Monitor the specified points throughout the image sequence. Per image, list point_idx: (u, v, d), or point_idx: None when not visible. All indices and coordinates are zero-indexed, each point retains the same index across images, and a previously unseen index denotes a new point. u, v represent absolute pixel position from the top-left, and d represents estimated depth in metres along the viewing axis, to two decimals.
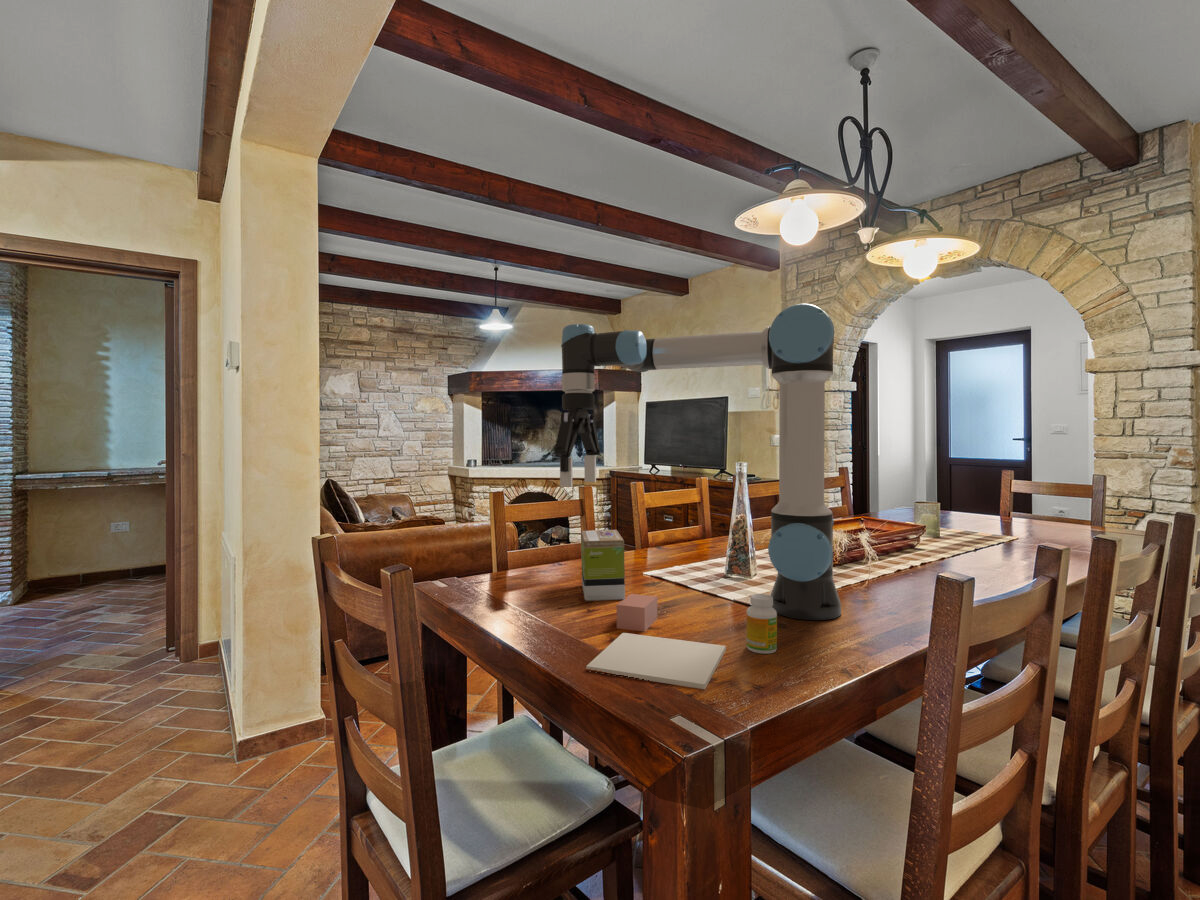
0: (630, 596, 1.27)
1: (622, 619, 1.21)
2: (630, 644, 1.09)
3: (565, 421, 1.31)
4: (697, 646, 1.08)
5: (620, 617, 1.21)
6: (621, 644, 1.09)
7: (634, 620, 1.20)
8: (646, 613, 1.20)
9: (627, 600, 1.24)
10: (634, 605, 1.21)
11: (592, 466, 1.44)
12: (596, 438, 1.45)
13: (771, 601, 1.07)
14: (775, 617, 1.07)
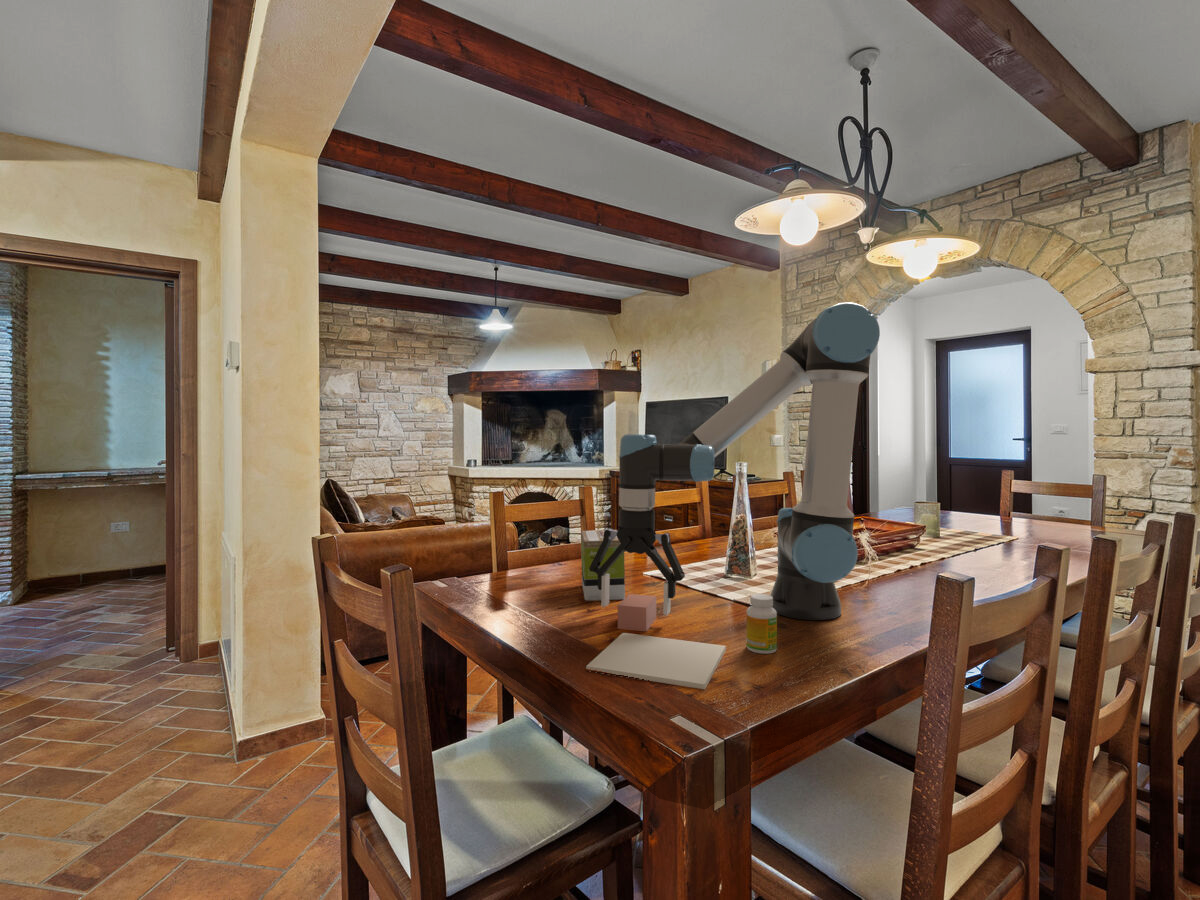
0: (629, 596, 1.27)
1: (624, 619, 1.20)
2: (630, 644, 1.09)
3: None
4: (697, 646, 1.08)
5: (621, 617, 1.21)
6: (621, 644, 1.09)
7: (635, 620, 1.20)
8: (647, 613, 1.20)
9: (627, 600, 1.24)
10: (636, 605, 1.21)
11: None
12: (672, 563, 1.20)
13: (771, 601, 1.07)
14: (775, 617, 1.07)
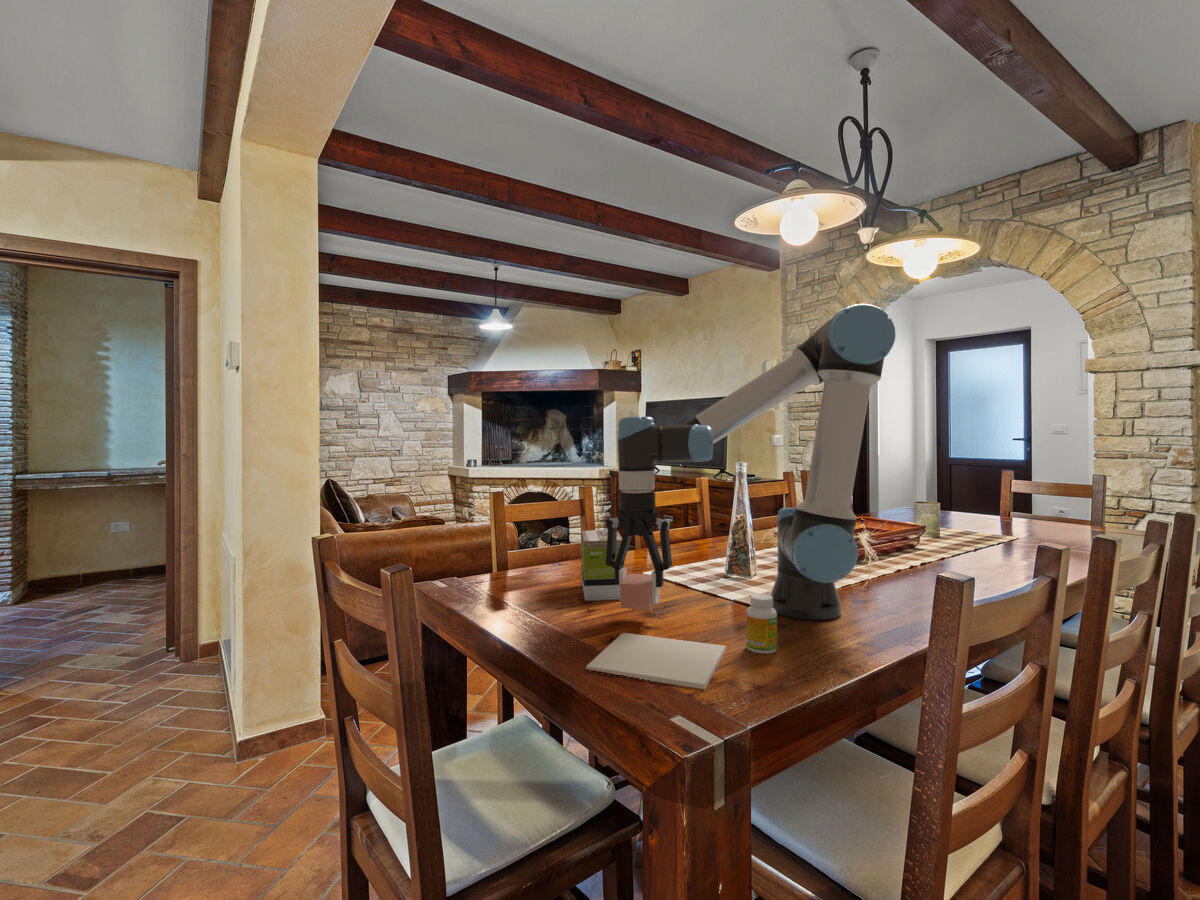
0: (630, 575, 1.27)
1: (627, 597, 1.20)
2: (630, 644, 1.09)
3: None
4: (697, 646, 1.08)
5: (624, 595, 1.20)
6: (621, 644, 1.09)
7: (639, 598, 1.20)
8: (650, 591, 1.20)
9: (628, 579, 1.24)
10: (638, 583, 1.21)
11: None
12: (664, 551, 1.21)
13: (771, 601, 1.07)
14: (775, 617, 1.07)
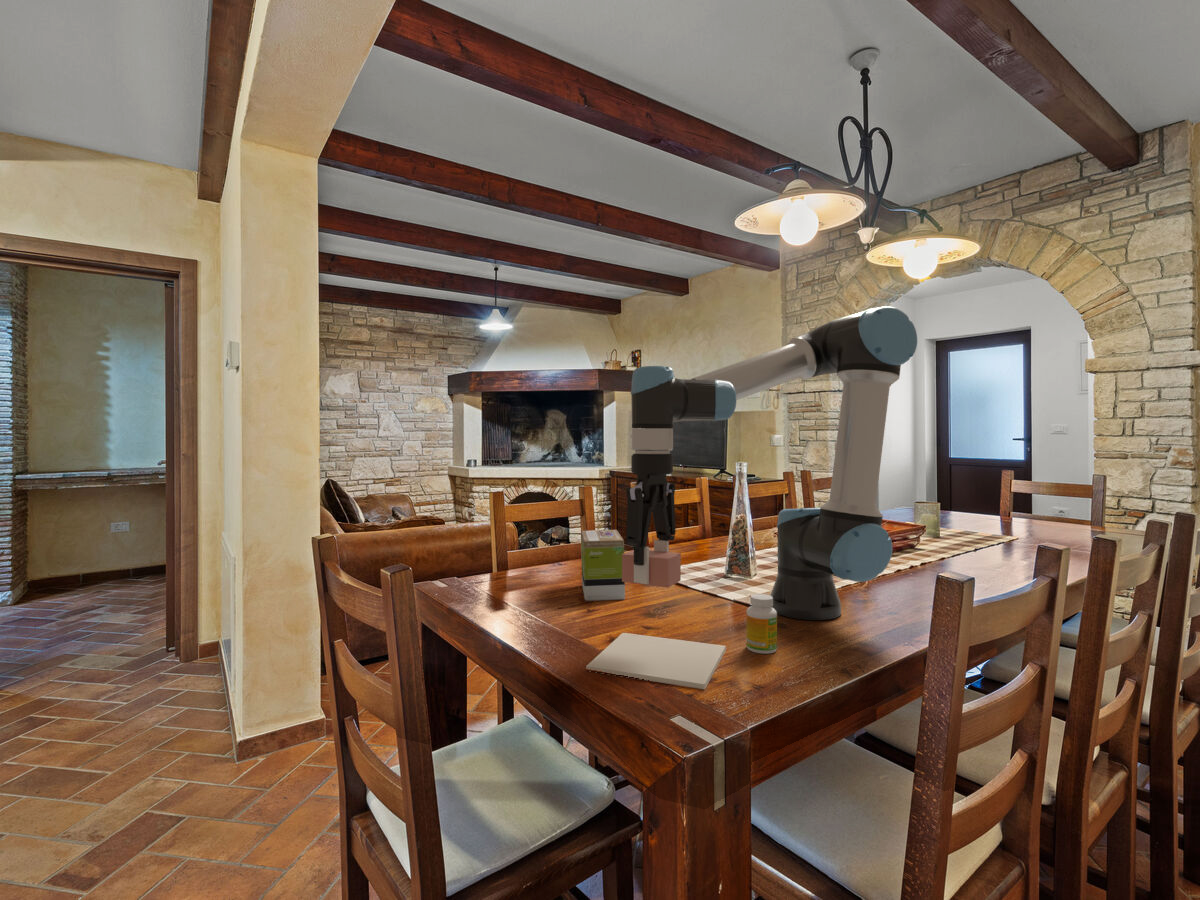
0: (633, 554, 1.07)
1: (671, 573, 1.04)
2: (630, 644, 1.09)
3: (633, 499, 1.03)
4: (697, 646, 1.08)
5: (670, 572, 1.04)
6: (621, 644, 1.09)
7: (676, 570, 1.07)
8: None
9: (649, 555, 1.06)
10: (669, 554, 1.07)
11: None
12: (673, 516, 1.12)
13: (771, 601, 1.07)
14: (775, 617, 1.07)
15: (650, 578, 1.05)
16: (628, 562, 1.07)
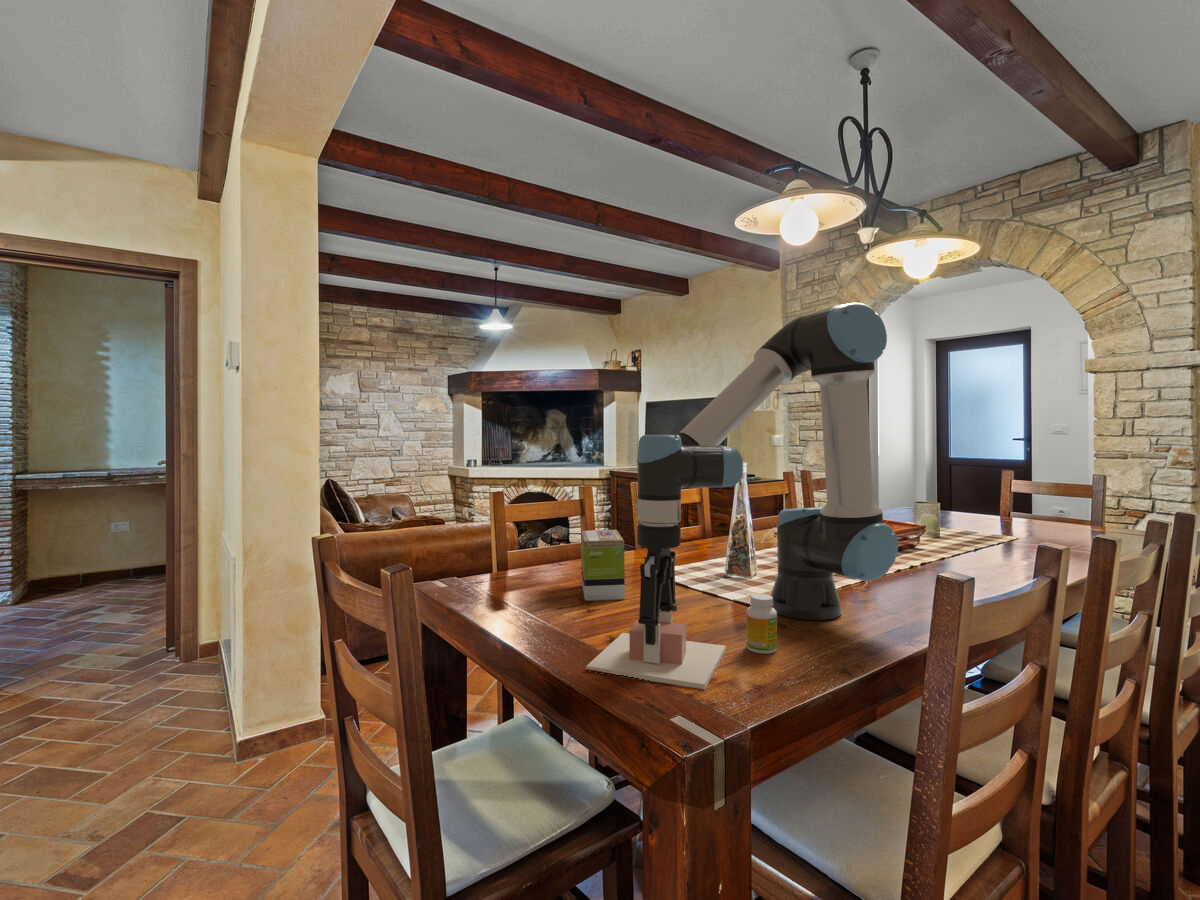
0: (641, 630, 1.02)
1: (682, 648, 1.01)
2: None
3: (647, 576, 0.98)
4: (697, 646, 1.08)
5: (682, 647, 1.00)
6: (621, 644, 1.09)
7: (684, 643, 1.03)
8: None
9: None
10: (677, 627, 1.03)
11: None
12: (673, 585, 1.09)
13: (771, 601, 1.07)
14: (775, 617, 1.07)
15: (662, 655, 1.01)
16: (636, 639, 1.02)
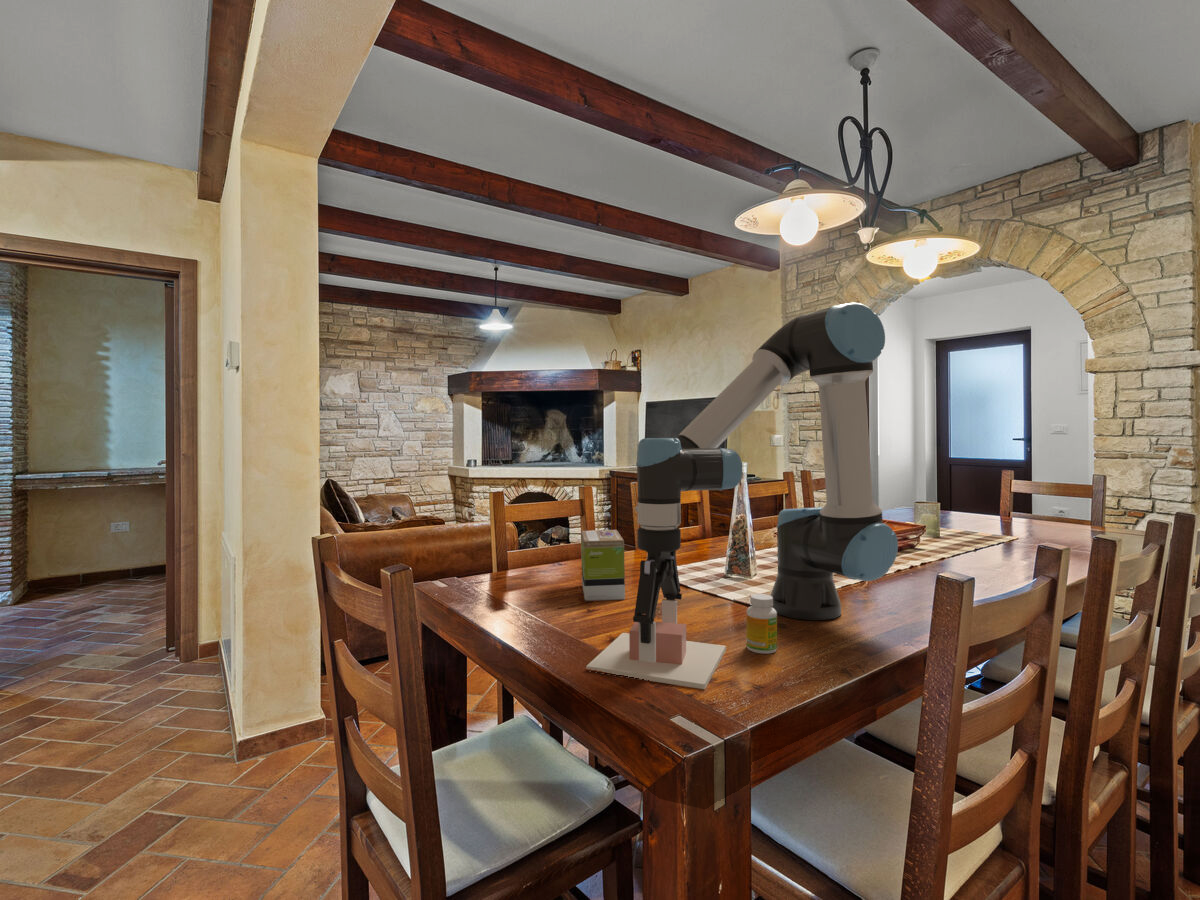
0: None
1: (682, 648, 1.01)
2: None
3: (646, 573, 0.97)
4: (697, 646, 1.08)
5: (682, 647, 1.00)
6: (621, 644, 1.09)
7: (684, 643, 1.03)
8: None
9: (659, 631, 1.01)
10: (677, 627, 1.03)
11: (672, 615, 1.09)
12: (677, 577, 1.11)
13: (771, 601, 1.07)
14: (775, 617, 1.07)
15: (661, 655, 1.01)
16: (636, 639, 1.02)
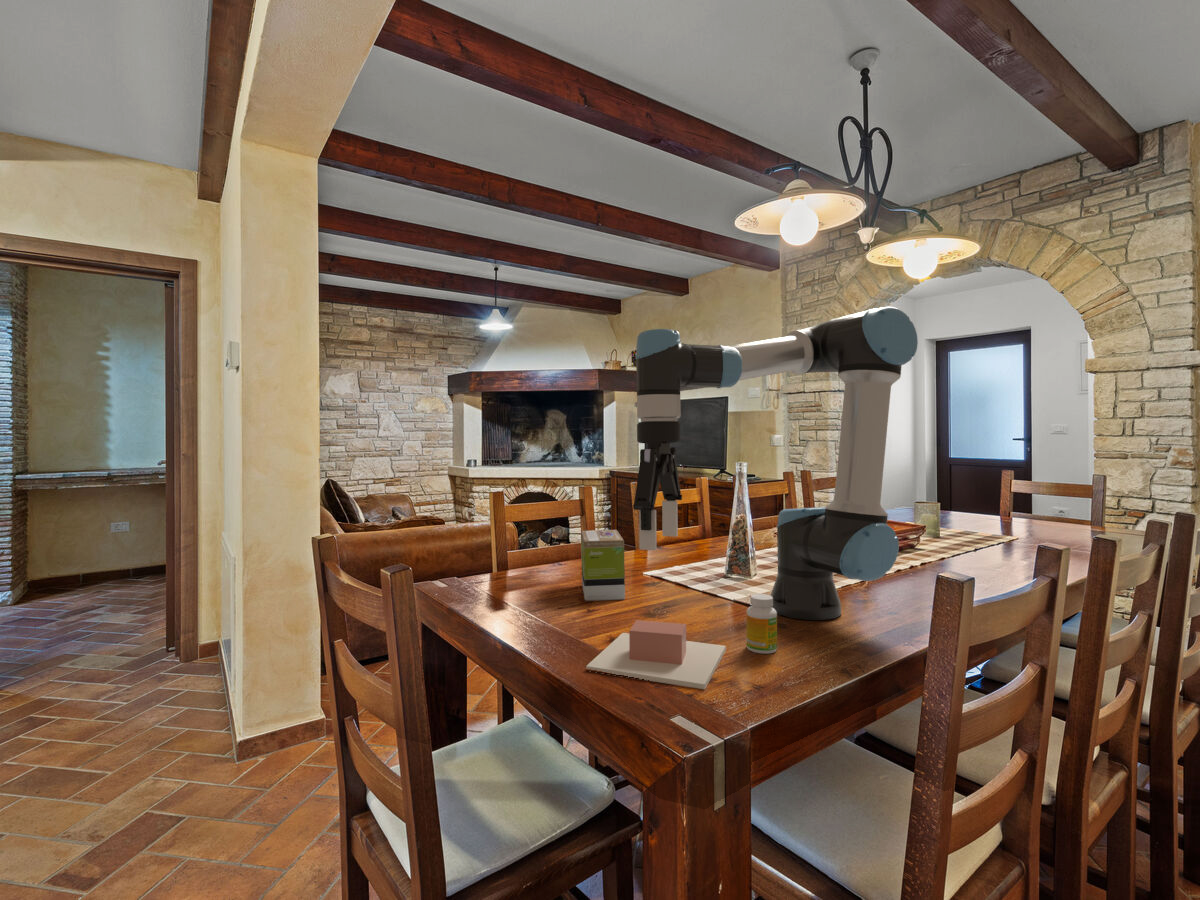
0: (641, 630, 1.02)
1: (682, 648, 1.01)
2: None
3: (646, 461, 0.97)
4: (697, 646, 1.08)
5: (682, 647, 1.00)
6: (621, 644, 1.09)
7: (684, 643, 1.03)
8: None
9: (659, 631, 1.01)
10: (677, 627, 1.03)
11: (673, 515, 1.09)
12: (677, 478, 1.10)
13: (771, 601, 1.07)
14: (775, 617, 1.07)
15: (661, 655, 1.01)
16: (636, 639, 1.02)
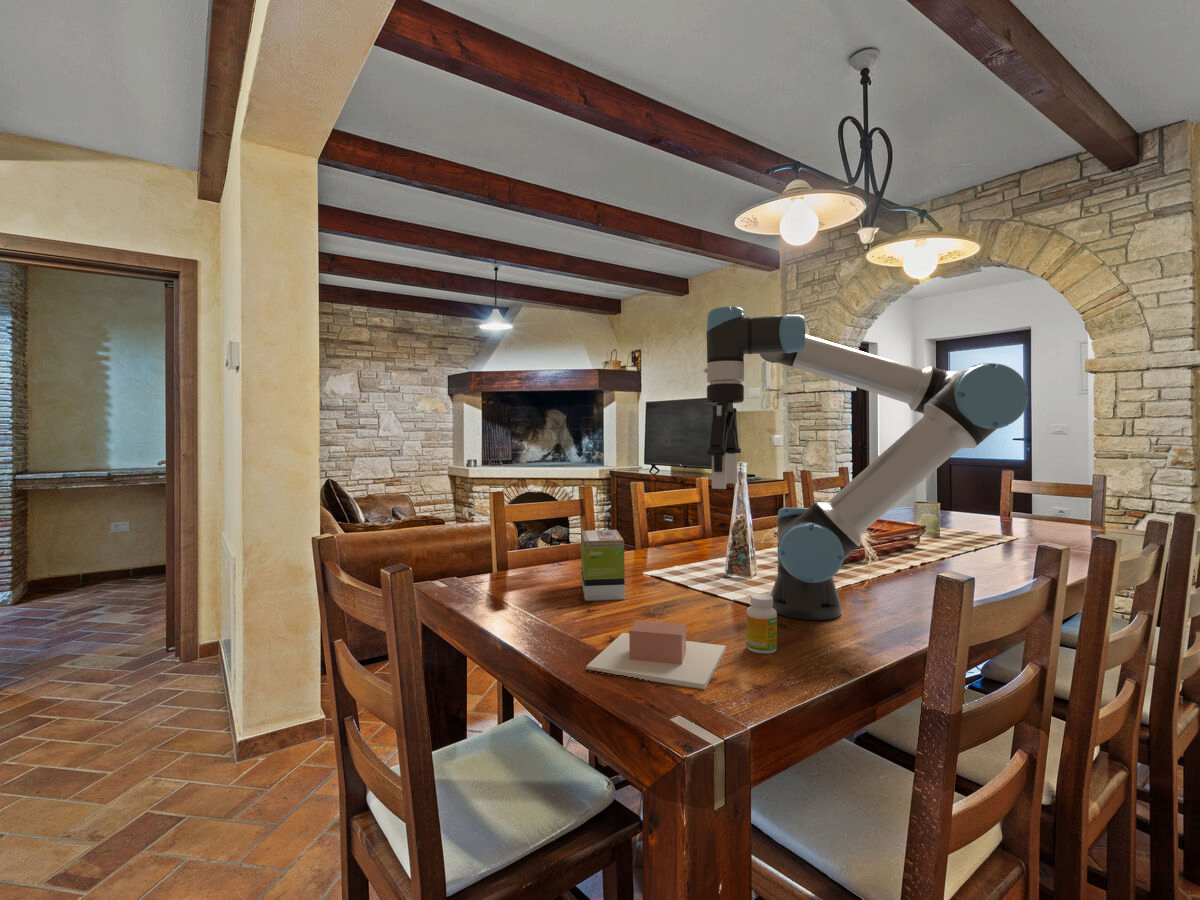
0: (641, 630, 1.02)
1: (682, 648, 1.01)
2: None
3: (718, 415, 1.17)
4: (697, 646, 1.08)
5: (682, 647, 1.00)
6: (621, 644, 1.09)
7: (684, 643, 1.03)
8: None
9: (659, 631, 1.01)
10: (677, 627, 1.03)
11: (734, 466, 1.29)
12: (737, 434, 1.30)
13: (771, 601, 1.07)
14: (775, 617, 1.07)
15: (661, 655, 1.01)
16: (636, 639, 1.02)
